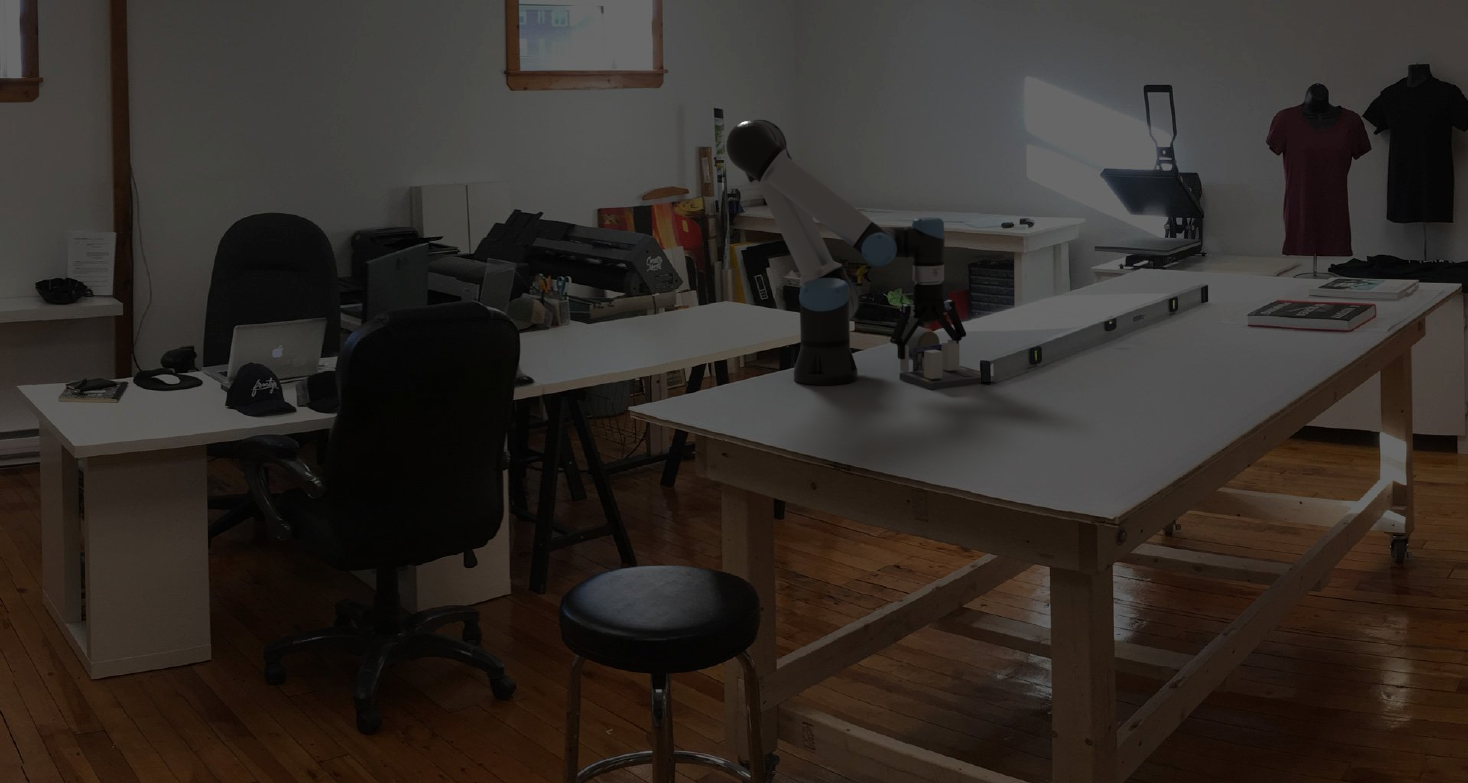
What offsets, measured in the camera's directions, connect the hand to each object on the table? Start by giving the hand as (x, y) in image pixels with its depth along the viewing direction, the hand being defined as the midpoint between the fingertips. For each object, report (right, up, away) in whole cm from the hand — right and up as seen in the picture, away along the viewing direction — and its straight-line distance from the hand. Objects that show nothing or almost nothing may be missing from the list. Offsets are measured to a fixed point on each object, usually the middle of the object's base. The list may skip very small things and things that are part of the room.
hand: (928, 369), depth 314 cm
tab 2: (+4, 0, -9) cm, 10 cm away
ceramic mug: (+2, +4, +19) cm, 20 cm away
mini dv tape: (0, 0, 0) cm, 0 cm away
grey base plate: (+2, -3, -13) cm, 13 cm away
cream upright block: (-2, -2, -18) cm, 18 cm away
